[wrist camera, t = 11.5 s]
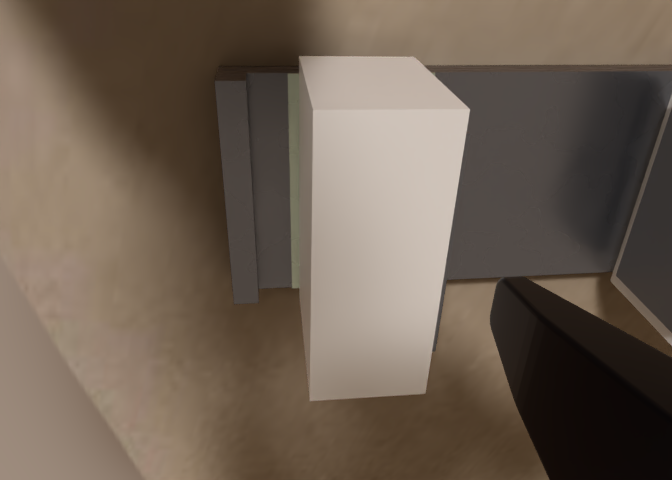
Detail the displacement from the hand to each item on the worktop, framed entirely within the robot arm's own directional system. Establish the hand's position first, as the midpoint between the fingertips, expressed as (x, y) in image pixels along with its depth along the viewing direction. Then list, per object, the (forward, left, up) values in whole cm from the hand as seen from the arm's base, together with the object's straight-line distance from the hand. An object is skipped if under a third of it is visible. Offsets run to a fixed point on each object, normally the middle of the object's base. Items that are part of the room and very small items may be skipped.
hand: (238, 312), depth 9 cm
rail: (+4, +11, -13) cm, 17 cm away
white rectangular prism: (+3, +4, -12) cm, 13 cm away
